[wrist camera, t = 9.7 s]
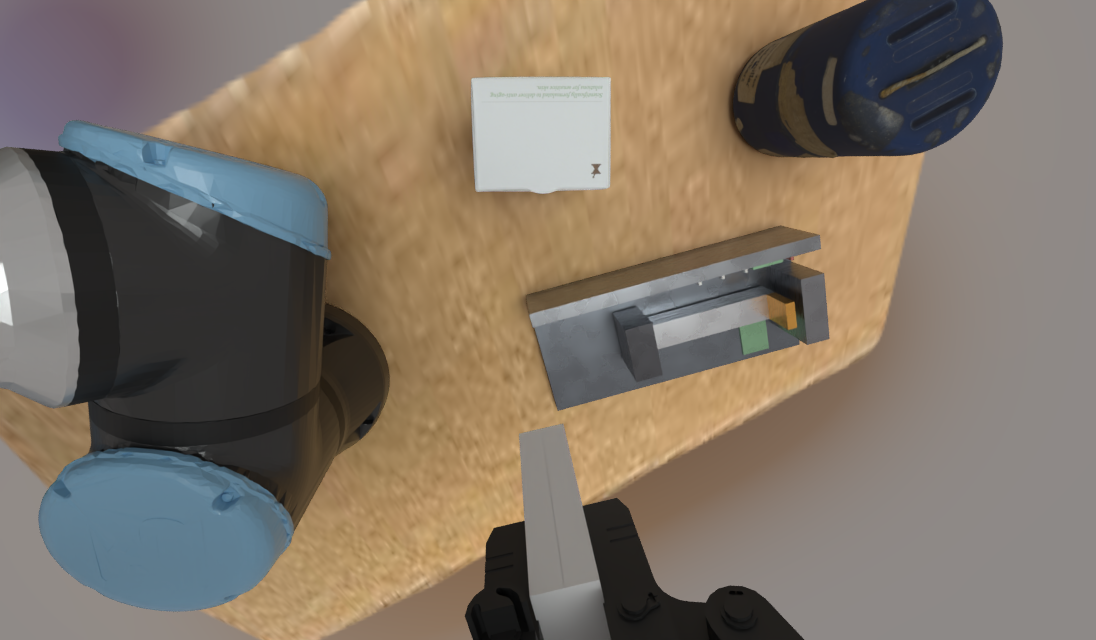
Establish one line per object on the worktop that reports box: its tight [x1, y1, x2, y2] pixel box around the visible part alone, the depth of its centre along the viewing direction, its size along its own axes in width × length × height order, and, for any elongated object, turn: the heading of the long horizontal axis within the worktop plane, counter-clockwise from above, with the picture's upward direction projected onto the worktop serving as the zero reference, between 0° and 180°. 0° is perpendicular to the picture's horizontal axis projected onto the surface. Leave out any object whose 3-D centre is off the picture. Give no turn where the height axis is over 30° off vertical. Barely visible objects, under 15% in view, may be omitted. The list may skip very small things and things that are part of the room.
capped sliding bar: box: [613, 286, 797, 382], centre depth 46 cm, size 14×5×6 cm, turn 104°
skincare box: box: [471, 77, 611, 194], centre depth 36 cm, size 8×7×16 cm
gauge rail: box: [526, 226, 829, 411], centre depth 46 cm, size 25×12×7 cm, turn 104°
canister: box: [733, 0, 1003, 158], centre depth 36 cm, size 10×10×18 cm
